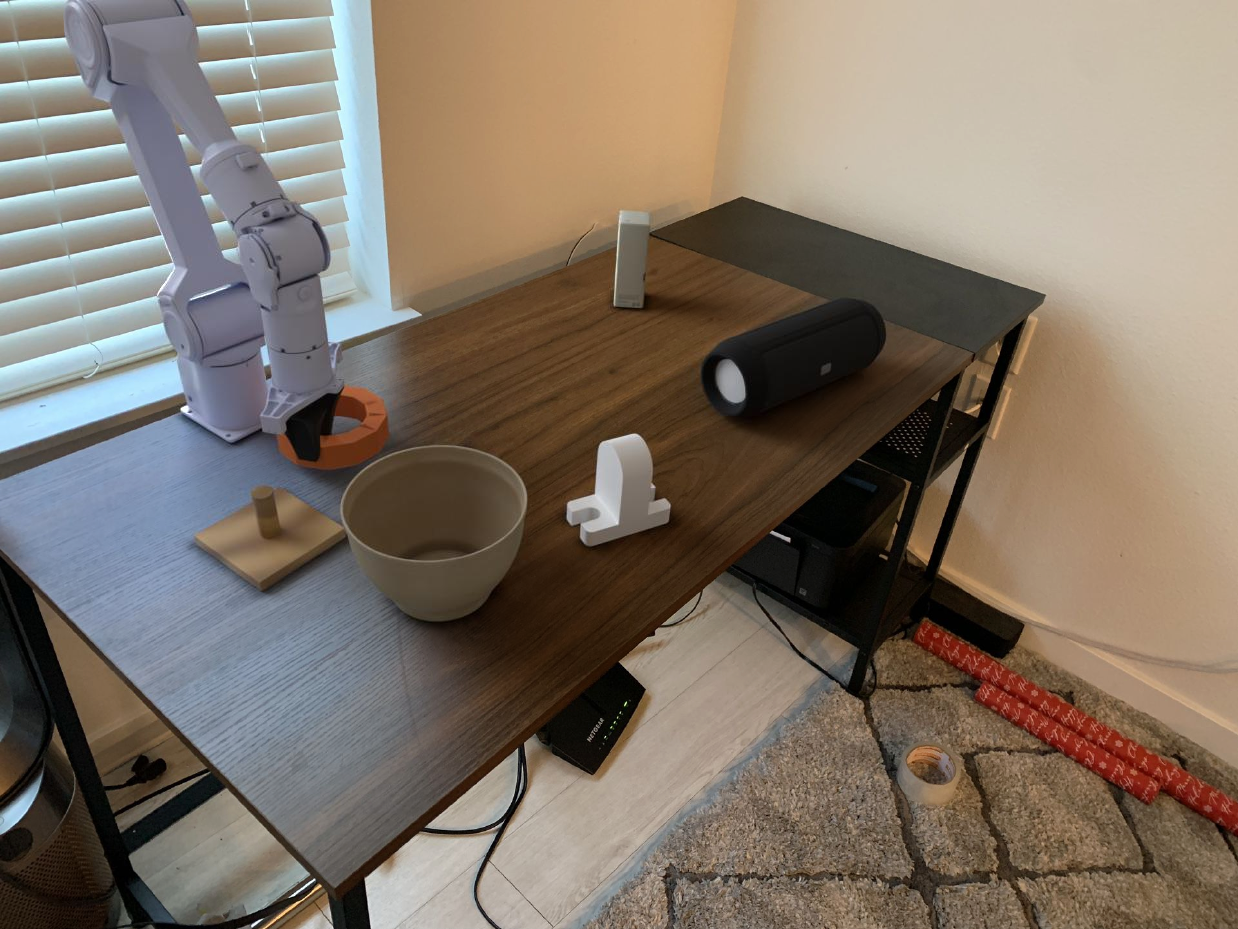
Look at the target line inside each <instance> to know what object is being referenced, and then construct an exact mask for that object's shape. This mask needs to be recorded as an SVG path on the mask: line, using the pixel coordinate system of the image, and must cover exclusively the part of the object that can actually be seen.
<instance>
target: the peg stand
mask: <svg viewBox="0 0 1238 929" xmlns="http://www.w3.org/2000/svg"><path fill="white" fill-rule="evenodd" d="M250 496H251V502H249V503H248V504H246V505H245V506H243V507H241V508H238V510H236V511H234V512H232V513H231V514H229V515H227V516H225V517H223V518H222V519H220V520H218V521H216V522H214V523H213V524H211V525H208V527H206V528H204V529H202V530H200V531H199V532H197V533H195V534H194V535H193V538H194V542H195V545H196V546H198V547H199V548H200V549H201V550H203V551H204V552H206V553H208V554H209V556H212V557H213V558H214V559H216V560H217V561H218V562H220V563H221V564H223V565H224V566H225V567H227V568H228V569H229V570H231V571H233V573H235V574H237V575H238V576H240V578H242V579H244V580H245V581H246V582H248V583H249V584H250V585H252V586H253V587H255V588H256V589H257V590H259V592H263V591H265V590H266V589H268V588H270V587H271V586H273V585H274V584H276V583H277V582H279V581H281V580H282V579H284V578H285V577H287V576H288V575H289V574H292V573H293V572H294V571H296V570H297V569H299V568H300V567H302V566H303V565H305V564H306V563H308V562H310V561H311V560H313V559H315V558H316V557H317V556H319V555H321V554H322V553H323V552H325V551H327V550H328V549H330V548H332V547H333V546H335V545H336V544H338V543H339V542H341V541H343V540H344V539H345V538H347V533H346V531H345V529H344V526H343V525H340V524H339V523H338V522H336V521H335V520H333V519H331V518H329V517H328V516H326V515H325V514H323V513H322V512H320V511H318V510H317V509H316V508H314V507H312V506H311V505H309V504H308V503H305V502H304V501H302V500H301V499H300V498H298V497H297V496H295V495H294V494H292V493H291V492H288V491H287V490H285V489H284V488H282V487H281V486H277V487H276V488H275V489H273V488H272V486H270V485H257V486H256V487H254V488H253V489H252V490H251V492H250Z"/></svg>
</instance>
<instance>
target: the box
mask: <svg viewBox="0 0 1238 929" xmlns="http://www.w3.org/2000/svg"><path fill="white" fill-rule="evenodd" d="M650 231H651V213H650V212H648V211H637V210H625V209H622V210H620V211H619V220H618V232H617V244H616V245H617V246H616V259H615V261H616V262H615V275H614V293H613V294H614V295H613V307H618V308H628V309H629V308H630V309H631V308H632V309H642V308H644V300H645V288H646V277H647V263H648V255H649V254H648V253H649V243H650Z"/></svg>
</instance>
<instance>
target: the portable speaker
mask: <svg viewBox="0 0 1238 929" xmlns="http://www.w3.org/2000/svg"><path fill="white" fill-rule="evenodd" d="M886 340H887V328H886V324H885V321H884V318H883V316H882V315H881V313H880V311H879V310H878V309H877V308H876V307H875V306H874V305H873V304H871V303H870V302H868V301H865V300H864V299H858V298H851V297H839V298H837V299H833V300H830V301H828V302H825V303H822V304H820V305H817V306H814V307H811V308H808V309H805V310H802V311H800V312H798V313H797V312H796V313H795V314H792V315H789V316H786V317H783V318H780V319H778V320H775V321H772V322H769V323H767V324H764V325H762V326H759V327H756V328H752V329H749V330H747V331H745V332H742V333H739V334H737V335H734V336H731V337H728V338H725V339H723V340H722V341H720V342H718V343H717V344H716V345H715V347H713V349H712V350H710V352H708V354H707V355H706V356H705V357H704V359H703V361H702V363H701V365H700V383H701V387H702V391H703V393H704V395H705V397H706V399H707V401H708V402H709V403H710V405H711V406H712V408H714V409H715V410H716V411H717V412H718V413H720V414H721V415H722V416H726V417H731V418H753V417H755V416H757V415H758V414H760V413H763V412H766V411H769V410H771V409H773V408H775V407H777V406H780V405H782V404H785V403H787V402H788V401H789V402H790V401H791V400H793V399H796V398H798V397H800V396H802V395H805V394H807V393H811V392H812V391H814V390H816V389H819V388H822V387H824V386H826V385H828V384H831V383H833V382H836V381H838V380H840V379H843V378H845V377H846V376H849V375H851V374H855V373H856V372H859V371H861V370H864V369H866V368H868V367H869V366H871V365H872V364H873V362H875V360H876V359H877V358H878V356H879V355H880V353H881V352H882V351H883V349H884V347H885V345H886Z"/></svg>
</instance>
